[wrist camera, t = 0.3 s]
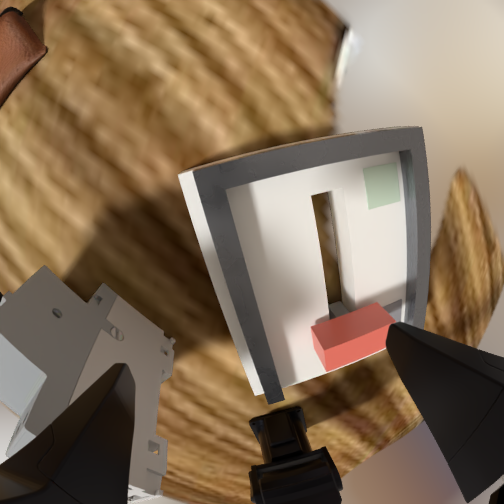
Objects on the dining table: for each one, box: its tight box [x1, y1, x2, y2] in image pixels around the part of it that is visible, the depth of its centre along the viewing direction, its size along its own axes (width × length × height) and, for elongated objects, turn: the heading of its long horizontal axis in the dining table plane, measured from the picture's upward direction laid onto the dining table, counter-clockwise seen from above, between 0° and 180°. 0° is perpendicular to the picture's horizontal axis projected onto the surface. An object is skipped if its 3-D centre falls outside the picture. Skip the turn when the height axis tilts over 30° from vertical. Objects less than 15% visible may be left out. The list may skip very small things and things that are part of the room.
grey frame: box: [192, 127, 431, 404], centre depth 20 cm, size 20×16×2 cm
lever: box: [311, 301, 396, 372], centre depth 22 cm, size 2×6×6 cm, turn 104°
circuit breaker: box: [0, 265, 176, 503], centre depth 15 cm, size 8×14×15 cm, turn 42°
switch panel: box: [178, 126, 418, 396], centre depth 22 cm, size 20×18×3 cm
